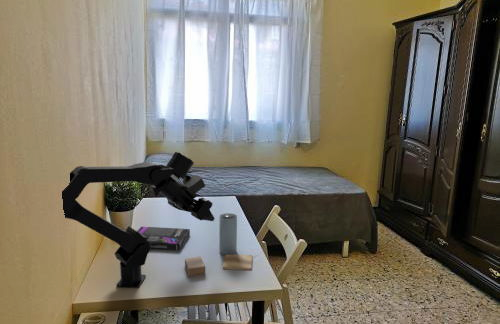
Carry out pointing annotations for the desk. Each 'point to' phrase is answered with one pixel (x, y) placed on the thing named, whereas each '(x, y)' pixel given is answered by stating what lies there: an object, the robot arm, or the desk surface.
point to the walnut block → (194, 266)
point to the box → (165, 237)
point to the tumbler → (228, 234)
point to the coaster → (238, 262)
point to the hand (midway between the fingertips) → (205, 216)
